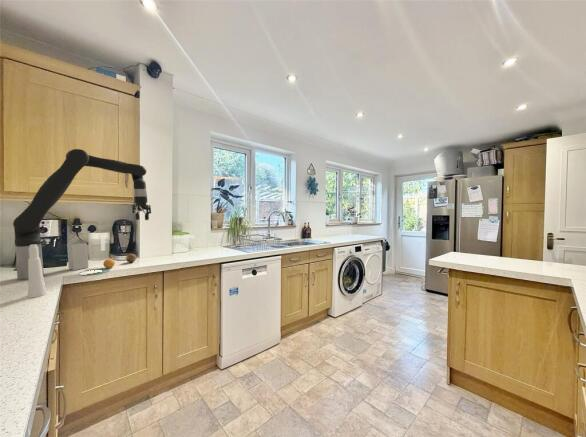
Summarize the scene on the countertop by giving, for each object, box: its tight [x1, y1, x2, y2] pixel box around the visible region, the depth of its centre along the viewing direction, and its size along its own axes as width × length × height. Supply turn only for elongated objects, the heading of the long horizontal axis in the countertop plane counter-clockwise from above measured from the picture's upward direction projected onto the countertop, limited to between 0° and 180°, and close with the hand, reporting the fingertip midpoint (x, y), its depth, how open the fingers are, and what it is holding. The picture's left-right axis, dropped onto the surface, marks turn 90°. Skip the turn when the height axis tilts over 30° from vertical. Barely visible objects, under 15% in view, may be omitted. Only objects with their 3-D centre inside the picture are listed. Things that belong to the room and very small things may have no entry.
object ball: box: [102, 258, 116, 269], centre depth 149 cm, size 6×6×6 cm
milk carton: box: [66, 235, 89, 271], centre depth 148 cm, size 7×7×19 cm
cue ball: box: [125, 253, 137, 263], centre depth 162 cm, size 6×6×6 cm
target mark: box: [82, 267, 111, 277], centre depth 142 cm, size 14×14×1 cm
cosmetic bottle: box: [26, 244, 48, 299], centre depth 107 cm, size 6×6×22 cm
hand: (142, 219), depth 169 cm, fingers open, 8 cm apart
